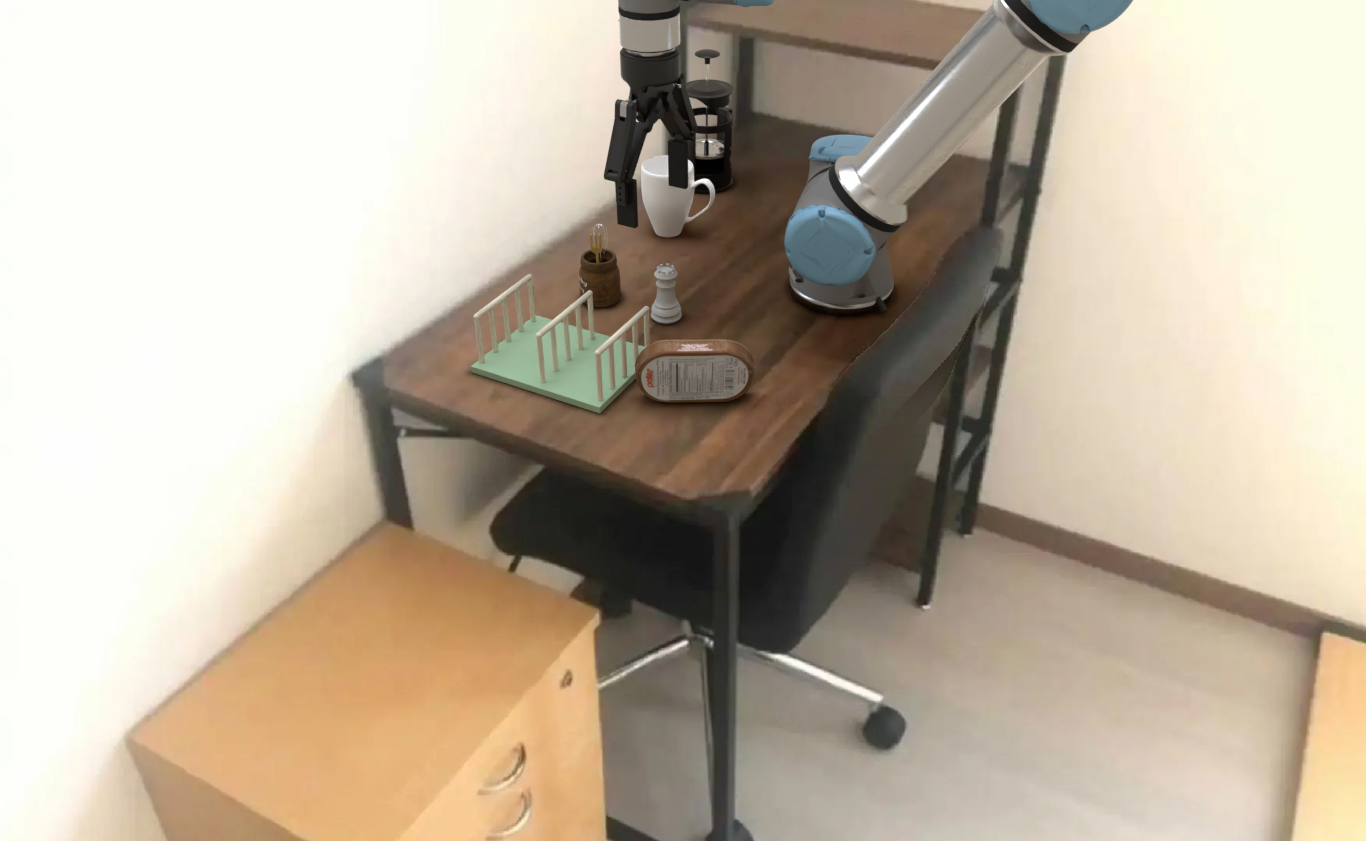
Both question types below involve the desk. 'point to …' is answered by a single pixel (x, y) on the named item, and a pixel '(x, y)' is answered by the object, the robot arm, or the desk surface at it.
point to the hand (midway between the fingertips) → (653, 205)
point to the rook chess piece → (666, 296)
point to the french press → (712, 130)
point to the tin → (694, 370)
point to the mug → (669, 197)
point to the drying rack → (560, 353)
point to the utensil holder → (599, 274)
